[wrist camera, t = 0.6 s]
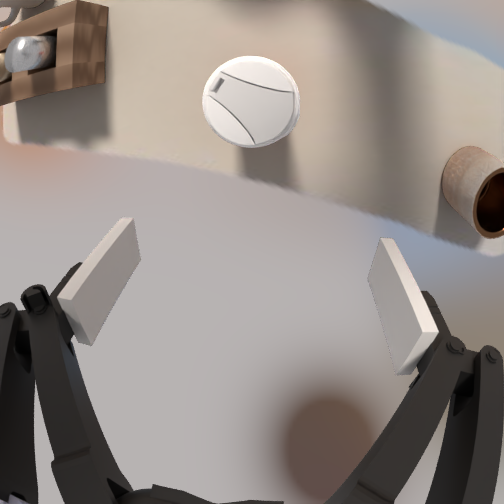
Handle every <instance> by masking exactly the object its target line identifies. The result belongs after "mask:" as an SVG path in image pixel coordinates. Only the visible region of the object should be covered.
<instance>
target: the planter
mask: <svg viewBox="0 0 504 504" xmlns="http://www.w3.org/2000/svg"><path fill="white" fill-rule="evenodd" d="M442 188H443V193H444V196H445V198H446V200H447V202H448V203H449V204H450V206H451V207H452V208H453V209H454V210H456V211H457V212H458V213H459V214H460V215H461V216H462V217H463V218H464V219H465V220H466V221H467V222H468V223H469V224H470V225H471V226H472V227H473V228H474V229H475V230H476V231H477V232H478V233H479V234H480V235H481V236H482V237H484V238H488V239H495V238H499V237H501V236H503V235H504V162H503V161H501V160H500V159H498V158H496V157H495V156H493V155H491V154H490V153H488V152H486V151H485V150H483V149H481V148H478V147H474V146H468V147H464V148H462V149H460V150H458V151H457V152H456V153H454V154H453V155H452V157H451V158H450V159H449V161H448V163H447V165H446V167H445V169H444V173H443V178H442Z"/></svg>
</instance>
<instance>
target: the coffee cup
mask: <svg viewBox="0 0 504 504" xmlns="http://www.w3.org/2000/svg"><path fill="white" fill-rule="evenodd" d="M202 106H203V111H204V115H205V118H206V120H207V122H208V124H209V126H210V127H211V128H212V130H213V131H214V132H215V133H216V134H217V135H218V136H219V137H221V138H222V139H224V140H225V141H227V142H229V143H231V144H234V145H237V146H240V147H246V148H256V147H263V146H266V145H269V144H272V143H274V142H276V141H278V140H279V139H281V138H283V137H285V136H286V135H288V134H289V133H290V132H291V131H292V130H293V128H294V127H295V125H296V123H297V121H298V119H299V116H300V95H299V91H298V87H297V85H296V83H295V81H294V79H293V78H292V76H291V75H290V73H289V72H288V71H287V70H286V69H285V68H283V67H282V66H281V65H279V64H278V63H276V62H274V61H272V60H270V59H267V58H264V57H258V56H244V57H238V58H235V59H232V60H230V61H228V62H226V63H224V64H223V65H221V66H220V67H219V68H217V69H216V70H215V71H214V72H213V74H212V75H211V76H210V78H209V79H208V81H207V83H206V85H205V88H204V91H203V98H202Z"/></svg>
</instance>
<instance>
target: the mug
mask: <svg viewBox="0 0 504 504" xmlns="http://www.w3.org/2000/svg"><path fill="white" fill-rule="evenodd" d="M44 1H45V0H0V7H11V13H10V15H9V17H8V19H7V20H5V21H2V22H0V27H4V26H7V25H10V24H11V23H12V22H14V20H15V19H16V17H17V15H18V13H19V11H20V9H21V8H33V7H36V6H38V5H40V4H41V3H42V2H44Z"/></svg>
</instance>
